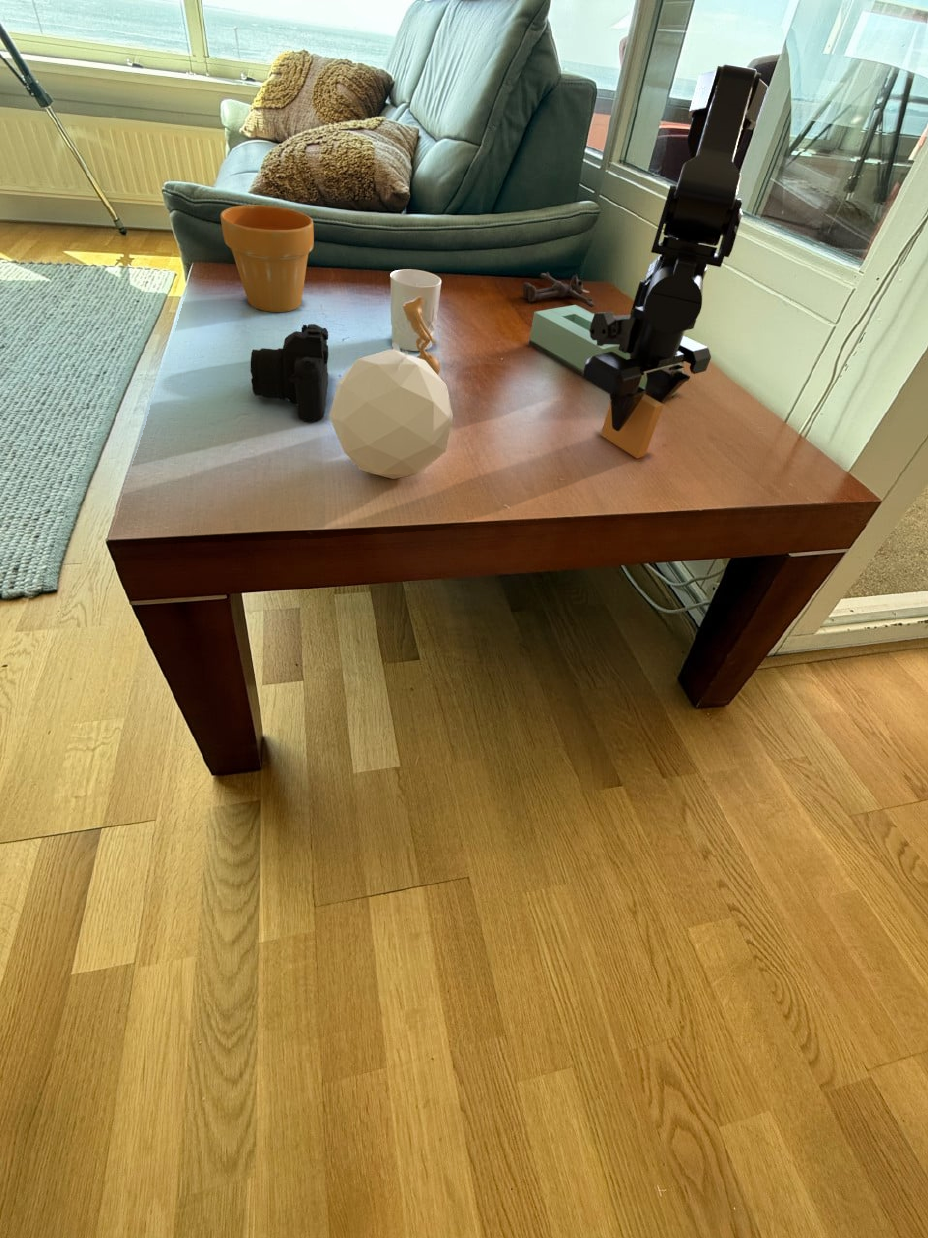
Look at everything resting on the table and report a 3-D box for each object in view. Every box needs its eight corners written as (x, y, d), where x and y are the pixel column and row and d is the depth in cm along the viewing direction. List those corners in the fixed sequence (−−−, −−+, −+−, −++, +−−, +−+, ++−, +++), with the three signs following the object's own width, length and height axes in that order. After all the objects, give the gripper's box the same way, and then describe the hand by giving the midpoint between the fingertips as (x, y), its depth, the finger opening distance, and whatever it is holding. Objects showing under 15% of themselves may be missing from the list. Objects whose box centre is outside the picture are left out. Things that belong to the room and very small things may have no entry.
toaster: (568, 336, 115) (575, 304, 111) (633, 372, 107) (644, 339, 103) (528, 344, 110) (534, 311, 106) (593, 382, 102) (603, 348, 98)
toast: (608, 432, 90) (624, 381, 85) (645, 455, 87) (664, 404, 81) (600, 435, 89) (615, 384, 84) (637, 458, 86) (655, 407, 80)
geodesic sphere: (322, 378, 78) (324, 309, 64) (434, 380, 82) (459, 314, 68) (332, 495, 77) (336, 450, 63) (446, 492, 80) (474, 448, 66)
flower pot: (308, 323, 105) (304, 235, 96) (221, 312, 104) (208, 222, 95) (323, 294, 115) (320, 212, 106) (243, 284, 114) (234, 199, 105)
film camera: (264, 369, 91) (257, 304, 85) (332, 375, 93) (330, 310, 86) (249, 421, 81) (239, 351, 74) (326, 426, 82) (323, 357, 76)
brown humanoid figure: (503, 268, 129) (561, 258, 134) (501, 290, 132) (558, 279, 137) (554, 300, 118) (614, 288, 123) (551, 323, 121) (610, 310, 127)
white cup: (429, 356, 101) (435, 290, 94) (382, 347, 102) (384, 280, 95) (440, 339, 107) (446, 275, 100) (395, 330, 107) (398, 265, 100)
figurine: (449, 391, 93) (458, 306, 85) (412, 395, 91) (418, 308, 82) (425, 367, 98) (431, 284, 90) (389, 370, 96) (392, 286, 87)
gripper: (664, 274, 84) (629, 387, 95) (566, 290, 74) (539, 413, 85) (734, 304, 78) (687, 420, 89) (637, 325, 69) (599, 452, 80)
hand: (628, 425), depth 86 cm, fingers open, 5 cm apart
